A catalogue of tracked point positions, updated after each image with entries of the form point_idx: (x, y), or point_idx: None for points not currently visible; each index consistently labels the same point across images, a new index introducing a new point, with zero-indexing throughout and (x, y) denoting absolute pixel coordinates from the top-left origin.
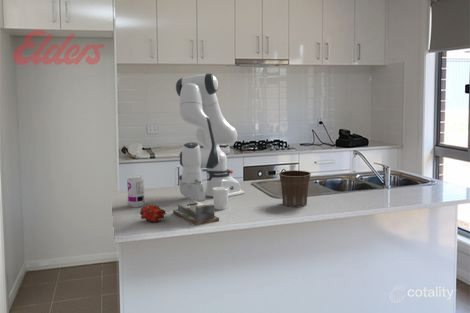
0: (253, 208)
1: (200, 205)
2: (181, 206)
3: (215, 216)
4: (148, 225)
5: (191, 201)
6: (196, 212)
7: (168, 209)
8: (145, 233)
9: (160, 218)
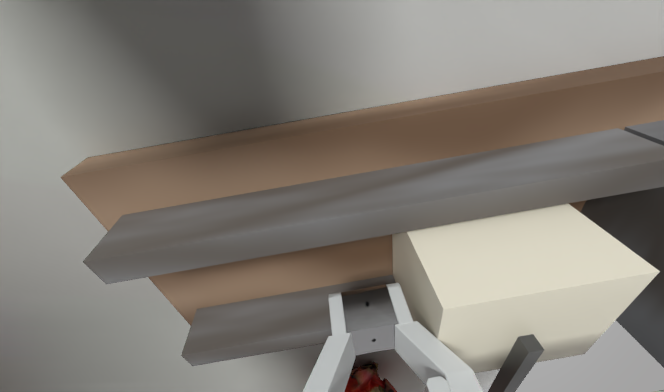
0: None
1: (614, 319)
2: (258, 349)
3: (646, 81)
4: (401, 382)
5: (344, 371)
6: (623, 313)
7: (84, 330)
8: (490, 384)
9: (387, 380)
